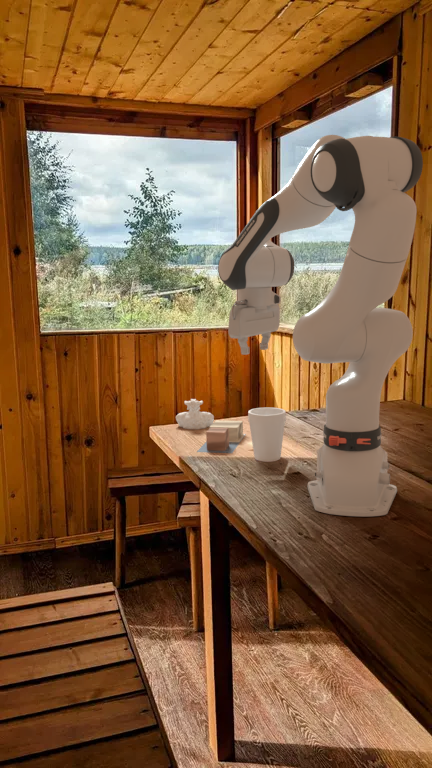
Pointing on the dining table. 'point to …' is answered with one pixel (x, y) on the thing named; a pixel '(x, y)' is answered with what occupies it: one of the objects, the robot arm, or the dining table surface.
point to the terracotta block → (217, 439)
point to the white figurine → (194, 416)
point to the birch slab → (230, 428)
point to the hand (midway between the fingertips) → (254, 351)
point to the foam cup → (267, 432)
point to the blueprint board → (229, 450)
